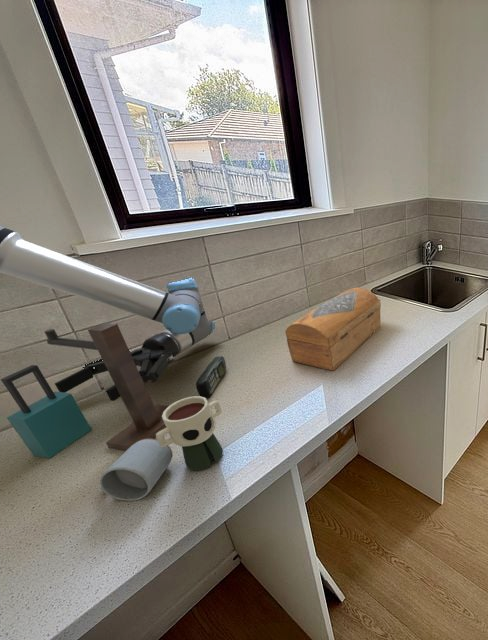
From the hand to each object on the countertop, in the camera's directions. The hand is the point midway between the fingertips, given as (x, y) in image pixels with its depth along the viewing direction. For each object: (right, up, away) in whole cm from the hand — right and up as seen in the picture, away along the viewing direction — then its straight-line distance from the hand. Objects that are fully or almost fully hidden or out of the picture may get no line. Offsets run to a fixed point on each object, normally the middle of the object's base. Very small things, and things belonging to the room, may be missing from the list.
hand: (83, 392), depth 73 cm
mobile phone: (+19, -1, +16) cm, 25 cm away
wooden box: (+47, +9, +36) cm, 60 cm away
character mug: (+31, -12, -7) cm, 34 cm away
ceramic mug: (+22, -14, -12) cm, 29 cm away
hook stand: (+9, -8, +1) cm, 12 cm away
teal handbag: (-1, -10, -3) cm, 10 cm away
